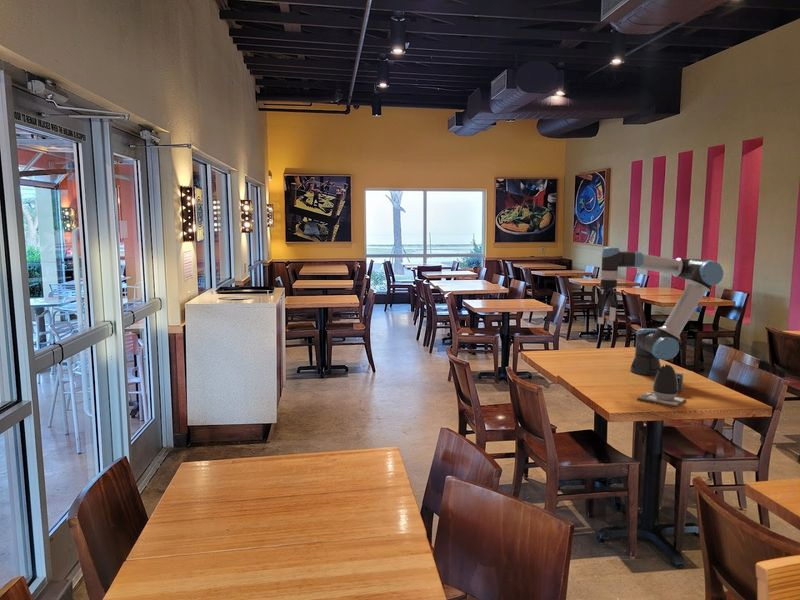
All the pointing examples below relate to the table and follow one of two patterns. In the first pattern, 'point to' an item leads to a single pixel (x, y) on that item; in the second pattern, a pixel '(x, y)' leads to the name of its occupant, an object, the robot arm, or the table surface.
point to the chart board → (653, 399)
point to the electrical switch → (680, 381)
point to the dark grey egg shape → (665, 383)
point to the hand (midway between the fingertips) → (606, 322)
